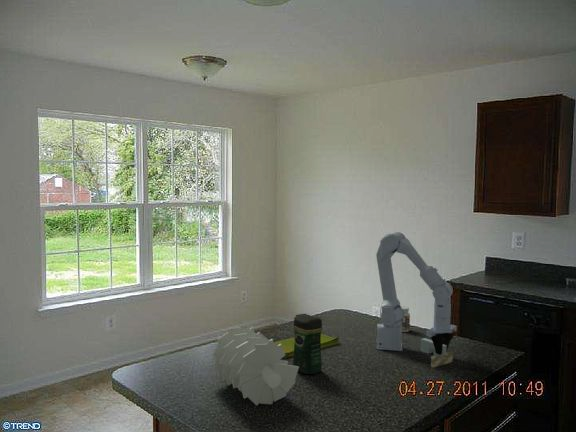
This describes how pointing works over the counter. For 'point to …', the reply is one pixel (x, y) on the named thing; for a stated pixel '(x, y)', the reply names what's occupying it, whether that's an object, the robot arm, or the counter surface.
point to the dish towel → (289, 343)
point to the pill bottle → (405, 320)
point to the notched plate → (431, 347)
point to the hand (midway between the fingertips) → (440, 353)
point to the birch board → (441, 359)
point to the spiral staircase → (254, 365)
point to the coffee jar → (307, 343)
